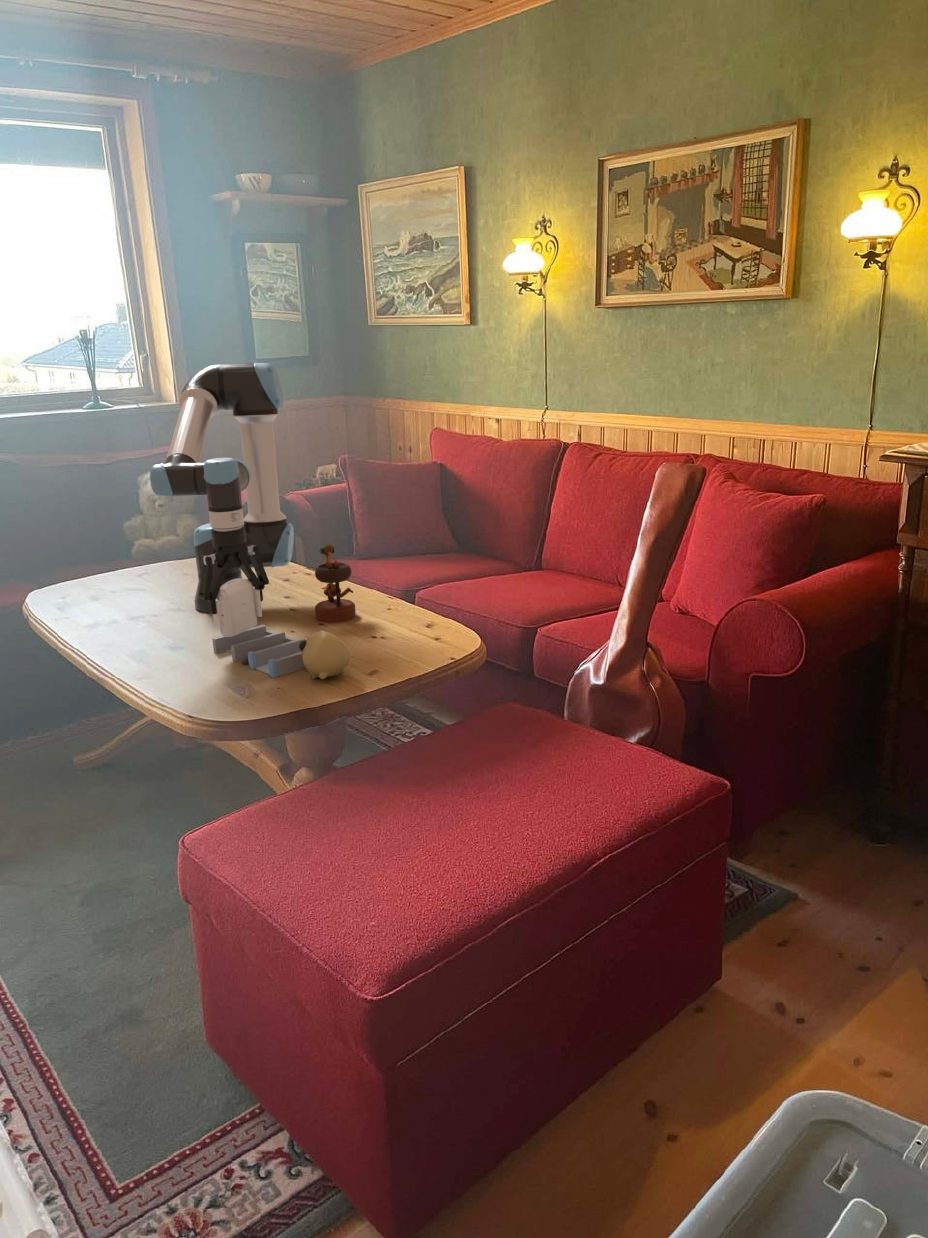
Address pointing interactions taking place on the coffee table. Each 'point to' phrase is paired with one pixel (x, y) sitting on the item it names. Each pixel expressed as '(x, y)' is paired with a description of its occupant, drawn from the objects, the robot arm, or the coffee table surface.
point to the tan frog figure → (324, 655)
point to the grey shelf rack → (263, 650)
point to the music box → (334, 590)
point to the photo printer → (237, 606)
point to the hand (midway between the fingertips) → (238, 620)
